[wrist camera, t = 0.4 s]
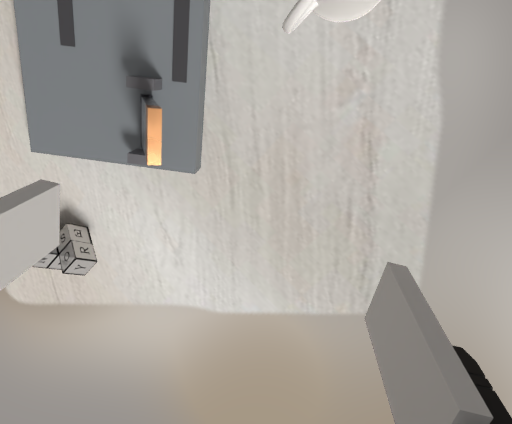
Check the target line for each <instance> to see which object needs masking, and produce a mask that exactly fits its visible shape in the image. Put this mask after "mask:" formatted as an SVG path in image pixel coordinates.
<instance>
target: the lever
mask: <svg viewBox="0 0 512 424" xmlns="http://www.w3.org/2000/svg"><path fill="white" fill-rule="evenodd" d="M161 145H162V108H161V107H160V106H159V105H158V104H157V103H156V102H155V100H154V99H153V95H150V94H140V146H142V147H143V150H144V153H145V157H146V162H147V165H161Z"/></svg>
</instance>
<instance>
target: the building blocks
mask: <svg viewBox="0 0 512 424" xmlns="http://www.w3.org/2000/svg"><path fill="white" fill-rule="evenodd" d="M96 263H97V259H96V255H95V251H94V248H93V244H92V240H91V236H90V233H89V229H88V227H85V226H80V225H75V224H70V223H66V225H65V226H64V227H63V228H62V229H61V231H60V235H59V246H58V247H56V248H55V249H54V250H53V251H51V252H50V253H49V254H47V255H46V256H45V257H43V258H42V259H41V260H40V261H38V262H37V263H36V264H34V265H33V266H32V267H39V268H49V269H59V270H62V273H64V274H75V275H86V273H87V272H88V271H89V270H90V269H91V268H92V267H93V266H94V265H95V264H96Z"/></svg>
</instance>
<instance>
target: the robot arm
mask: <svg viewBox="0 0 512 424" xmlns="http://www.w3.org/2000/svg"><path fill="white" fill-rule="evenodd" d="M59 235H60V184H58V183H54V182H50V181H45V180H39V181H37V182H34V183H32V184H30V185H28V186H26V187H23V188H21V189H19V190H17V191H14V192H12V193H10V194H8V195H6V196H3V197H1V198H0V291H1V290H2V289H3V288H5V287H6V286H7V285H8V284H10V283H11V282H12V281H14V280H15V279H16V278H18V277H19V276H20V275H21V274H23V273H24V272H25V271H27V270H28V269H29V268H30V267H32V266H33V265H34V264H36V263H37V262H38V261H40V260H41V259H42V258H43V257H45V256H46V255H47V254H49V253H50V252H51V251H53V250H54V249H55V248H56V247H58V246H59ZM365 321H366V325H367V328H368V332H369V335H370V339H371V342H372V345H373V349H374V352H375V356H376V359H377V363H378V366H379V370H380V373H381V377H382V380H383V384H384V387H385V390H386V394H387V397H388V401H389V404H390V408H391V411H392V415H393V418H394V422H395V424H512V418H511V417H510V415H509V413H508V412H507V410H506V408H505V407H504V405H503V404H502V402H501V400H500V399H499V397H498V396H497V394H496V393H495V391H493V390H492V389H493V388H492V386H491V384H490V383H489V381H488V380H487V379H485V375H484V373H483V372H482V370H481V369H480V367H479V365H478V364H477V362H476V361H475V360H474V359H473V358H472V357H471V356H470V355H469V354H468V353H467V352H466V351H465V350H464V349H463V348H461V347H456V346H452V345H451V343H450V341H449V339H448V338H447V336H446V334H445V332H444V331H443V329H442V327H441V325H440V324H439V322H438V320H437V318H436V317H435V315H434V313H433V311H432V310H431V308H430V306H429V304H428V303H427V301H426V299H425V297H424V296H423V294H422V293H421V291H420V289H419V287H418V285H417V284H416V282H415V280H414V278H413V277H412V275H411V273H410V271H409V270H408V268H407V267H406V266H402V265H398V264H394V263H390V262H387V265H386V267H385V270H384V272H383V274H382V277H381V279H380V282H379V284H378V287H377V289H376V291H375V294H374V296H373V299H372V301H371V304H370V306H369V308H368V311H367V313H366V316H365Z"/></svg>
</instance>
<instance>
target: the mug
mask: <svg viewBox="0 0 512 424" xmlns="http://www.w3.org/2000/svg"><path fill="white" fill-rule="evenodd" d="M379 2H380V0H299V1H298V2H297V3H296V5H295V6H294V7H293V9H292V10H291V12H290V13H289V15H288V16H287V18H286V19H285V21H284V23H283V25H282V28H283V30H284V31H285V32H286V33H291V32H292V31H293V30H295V29H296V28H297V27H298V26H299V25H300V24H301V22H302V21H303V20H304V19H305V18H306V17H307V16H308V15H309V14H310V13H311V12H312V11H313V12H314V13H315V14H316V15H318V16H320V17H321V18H323V19H326V20H329V21H333V22H348V21H352V20H355V19H358V18H360V17H362V16H364V15H365V14H367V13H368V12H370V11H371V10H372V9H373V8H374V7H375V6H376V5H377V4H378V3H379Z"/></svg>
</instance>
